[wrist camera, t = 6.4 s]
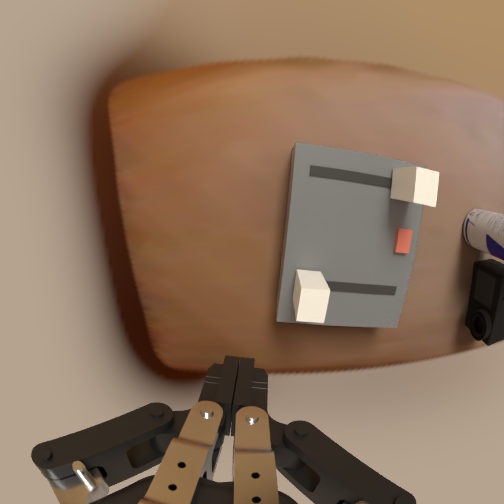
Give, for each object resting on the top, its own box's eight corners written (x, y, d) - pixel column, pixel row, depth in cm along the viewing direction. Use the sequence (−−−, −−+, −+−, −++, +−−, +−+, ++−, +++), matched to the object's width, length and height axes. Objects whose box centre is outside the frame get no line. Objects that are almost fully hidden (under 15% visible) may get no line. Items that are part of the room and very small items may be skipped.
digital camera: (468, 262, 31) (497, 277, 24) (491, 257, 30) (520, 271, 23) (459, 326, 33) (482, 348, 26) (482, 319, 32) (505, 338, 26)
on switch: (413, 172, 24) (439, 172, 19) (410, 202, 25) (435, 207, 20) (393, 168, 24) (416, 166, 19) (390, 198, 25) (413, 202, 20)
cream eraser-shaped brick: (320, 271, 27) (330, 290, 22) (316, 299, 28) (323, 323, 23) (296, 269, 27) (301, 288, 22) (292, 297, 28) (296, 321, 23)
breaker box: (406, 168, 29) (429, 166, 23) (382, 309, 33) (398, 330, 28) (292, 148, 29) (296, 141, 24) (276, 302, 34) (276, 324, 28)
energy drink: (468, 253, 30) (524, 281, 19) (457, 221, 29) (517, 240, 18) (490, 233, 29) (545, 253, 18) (479, 201, 28) (539, 213, 17)
